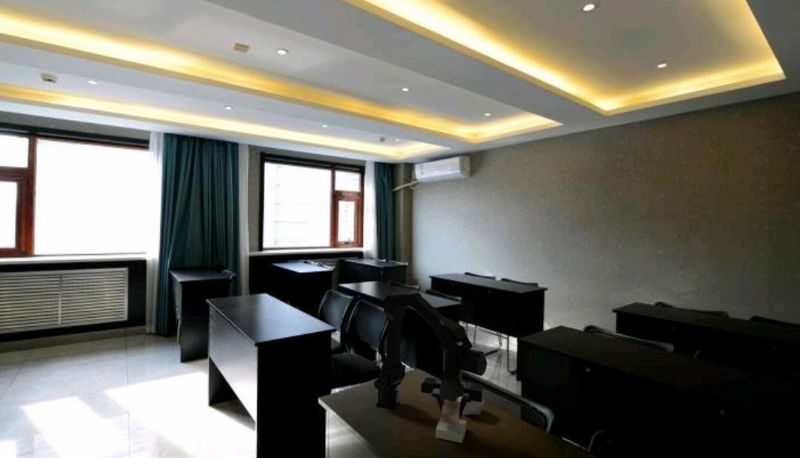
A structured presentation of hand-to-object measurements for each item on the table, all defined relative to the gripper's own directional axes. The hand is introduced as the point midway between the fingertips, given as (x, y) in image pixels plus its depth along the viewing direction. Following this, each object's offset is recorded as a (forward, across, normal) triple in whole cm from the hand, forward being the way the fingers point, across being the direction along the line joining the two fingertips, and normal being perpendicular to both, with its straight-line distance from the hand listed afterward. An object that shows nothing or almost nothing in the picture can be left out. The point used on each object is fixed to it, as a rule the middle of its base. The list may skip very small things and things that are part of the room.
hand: (451, 416), depth 116 cm
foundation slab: (+6, 0, 0) cm, 6 cm away
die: (+5, +4, +15) cm, 16 cm away
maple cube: (+1, 0, 0) cm, 1 cm away
